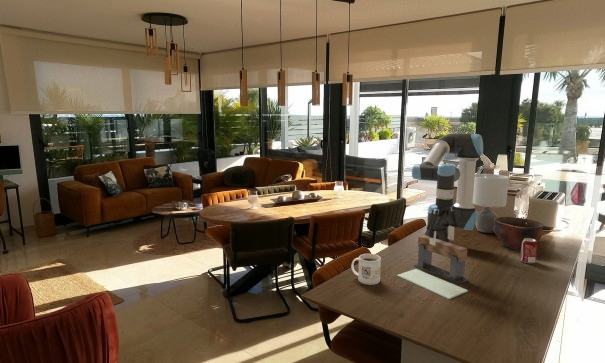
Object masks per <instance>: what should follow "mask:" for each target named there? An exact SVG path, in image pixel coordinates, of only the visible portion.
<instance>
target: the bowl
mask: <svg viewBox="0 0 605 363" xmlns="http://www.w3.org/2000/svg"><path fill="white" fill-rule="evenodd" d="M494 222H495V225H494V229H493V231H494V232H493V233H494V234H495V236H496V237H497V238H498V239H499V240H500V241H501V242H502V244H503V245H504V246H505V247H506V248H510V249H512V250H520V251H521V248H522V241H523V240H524V238H532V239H535V240H536V243H538V242H539V241H540V239H541V238H542V236H543V233H542V232H543V228H544V227H545V225H544V224H543V223H542V222H539V221H537V220H532V219H529V218H522V217H514V216H497V217H496V218H494Z"/></svg>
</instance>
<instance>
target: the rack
mask: <svg viewBox="0 0 605 363" xmlns="http://www.w3.org/2000/svg"><path fill="white" fill-rule="evenodd" d="M432 258H433V252H431V251H428V250H425V246H424V245H421V244H419V247H418V255H417V263H415V264H413V267H415V268H416V269H419V270H421V271H423V272H424V271H425V272H426V273H428V274H429V273H430V274H432V275H433V276H436V277H438V278H442V279H443V280H444V279H445V280H446V281H448V282H452V283H453V284H455V285H456V284H457V285H460V284H463V283H466V282H468V281H469V279H468V278H466V277H465V267H466V266H465V264H466V261H463V262H460V261H458V257H456V256H453V255H451V258H450V259H449V260H450V262H449V263H450V264H449V270H446V269H443V268H441V267H437V266H435V265H432Z"/></svg>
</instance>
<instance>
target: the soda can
mask: <svg viewBox="0 0 605 363" xmlns="http://www.w3.org/2000/svg"><path fill="white" fill-rule="evenodd" d="M537 250H538V242H536V240H535V239H532V238H524V240H523V241H522V248H521V250H520V258H519V259H520V261H521V262H522V263H525V264H528V265H531V264H535V263H536V260H537V259H536V258H537Z"/></svg>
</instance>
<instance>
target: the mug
mask: <svg viewBox="0 0 605 363" xmlns="http://www.w3.org/2000/svg"><path fill="white" fill-rule="evenodd" d="M356 261H358V272H357V271H356V270H355V267H354V266H355V265H354V264H355V262H356ZM381 262H382V258H381V256H379V255H378V254H374V253H363V254H360V255H359V256H358V257H356V258H354V259H353V260H352V262H351V265H350V266H351V271H352V273H353V274H354V275H356V277H358V278H357V279H358V282H360V283H361V284H363V285H370V286H371V285H373V286H374V285H377V284H379V283H380V282H381V267H382V266H381V264H382V263H381Z"/></svg>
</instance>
